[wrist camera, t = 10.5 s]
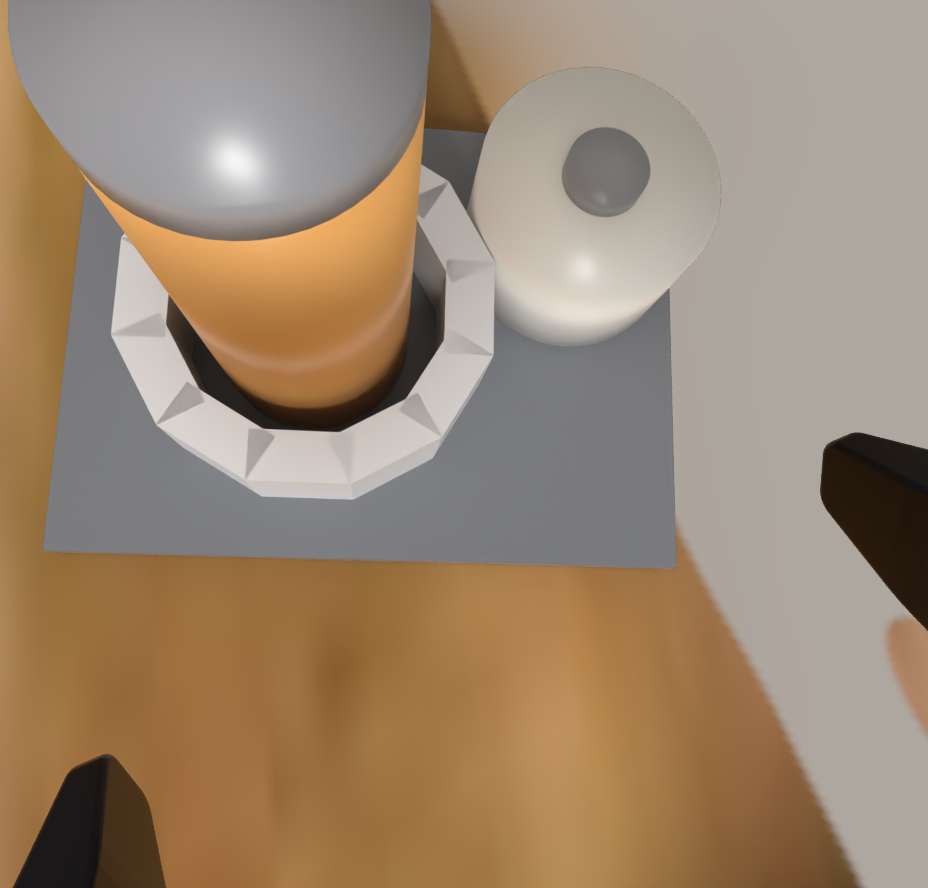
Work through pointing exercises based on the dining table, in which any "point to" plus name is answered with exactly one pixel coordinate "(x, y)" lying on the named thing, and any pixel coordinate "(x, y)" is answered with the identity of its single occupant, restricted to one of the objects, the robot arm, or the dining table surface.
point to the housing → (424, 366)
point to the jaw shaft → (253, 173)
